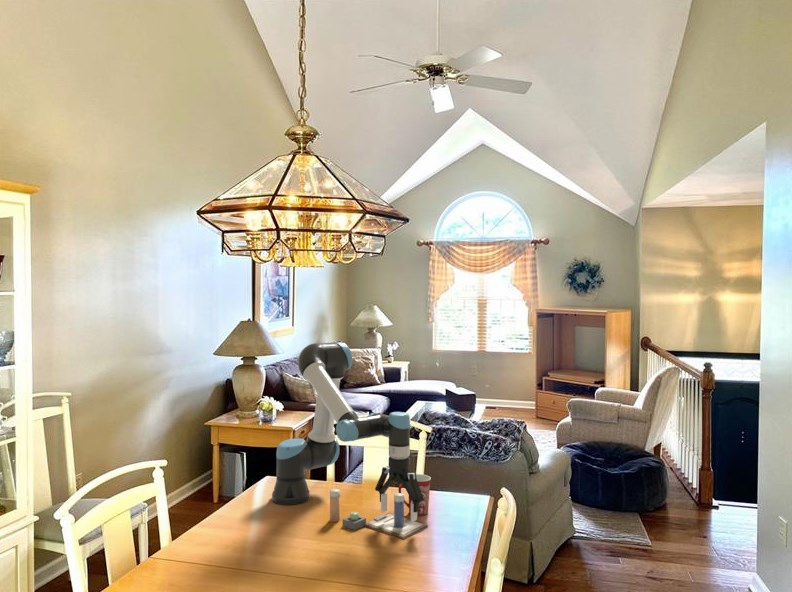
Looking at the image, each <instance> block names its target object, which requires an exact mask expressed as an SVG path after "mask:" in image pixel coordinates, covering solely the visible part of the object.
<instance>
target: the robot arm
mask: <svg viewBox="0 0 792 592" xmlns="http://www.w3.org/2000/svg"><path fill="white" fill-rule="evenodd" d="M353 360H354V359H353V354H352V351H351V349H350V347H349V346H348V345H347V344H346V343H345V342H339V341H338V342H336V341H333V342H319V343H317V342H316V343H310V344H308V345H306V346H305V347H304V348H303V349H302V350H301V352H300V353H299V356H298V360H297V363H298V370H299V373H300V375H301V376H302V378H303V380H305V381H306V382H309V383H310V385H311V386H312V387H313V390H314V391H315V392H316V394H317V395H316V400H315V401H316V402H315V409H314V415H313V423H312V429H311V431H309V432H308V433H307V440H305V439H304V438H289V439H286V440H282V441H281V442H280V443H279V444H278V445H277V447H276V454H275V457H276V480H275V484H274V488H273V491H272V494H271V501H272V503H275V504H278V505H283V506H285V505H286V506H293V505H299V504H303V503H305V502H307V501H308V500H310V493H311V492H310V490H309V487H308V484H307V479H306V471H308V470H313V469H318V468H322V467H323V468H325V467H328V466H331V465H333V464H334V463H335V462H336V461H337V460H338V458H339V456H340V443H339V441H338V439H339V440H340V441H341V442H345V443H347V442H354V441H358V440H363V439H368V438H373V437H378V436H380V437H386V438H388V465H385V466H383V467H382V468H381V475H380V476H379V479H378V481H377V483H376V486H375V488H374V490H375V491H376V492H378V494H379V502H380V513H385V512H387V511H388V492H387V490H388V489H389V488H390V487H391V485H392V484H393V483H396V484H399V485H400V484H402V487H404V489H405V491H406V493H407V494H408V497H409V496H410V498H411V500H412V503H411V514H410V519H411V522H413V521H417V520H418V516H417V512H418V510H419V502H421V501H423V500H424V498H423V496H422V493H421V490H420V487H419V484H418V481H417V477H416V474H417V473H416V472H410V471H409V469H410V465H411V464H410V460H411V459H410V457H409V456H410V455H411V453H410V451H411V449H410V446H411V444H410V441H411V439H410V438H411V436H410V435H411V418H410V414H409V413H408V412H404V411H403V412H402V411H393V412H390V413H389V414H388V415H387V414H384V413H381V412H371V413H369V414H368V415H367V416H361V417H359V416H358V414H356V412H355V411H354V409H353V407H352V406H351V405H350V403H349V401H348V400H347V399H346V397H345V396H344V395H343V393H342V392H341V390H340V382H341V380H342V379H344V378H345V373H346V371H348V370H350V369H351V368H352V365H353ZM335 423H336V426H335V433H336V435H335V434H334V425H335ZM336 436H337V438H338V439H337V438H336ZM388 475H389V477H388ZM387 477H388V478H387ZM408 477H409V478H408ZM409 479H410V480H409Z"/></svg>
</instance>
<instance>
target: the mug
mask: <svg viewBox="0 0 792 592" xmlns="http://www.w3.org/2000/svg"><path fill="white" fill-rule="evenodd" d="M416 477H417V481H418V484H419V487H420V490H421V493H422V496H423V498H424V500H423V501H421V502H419V510H418V512H417V517H418V516H419V517H422V516H426V515H428V514H429V502H430V489H431V488H430V487H431V479H432V477H431V476H429V475H427V474H421V473H416ZM408 478H409V477H408ZM409 480H410V479H409ZM402 487H403V486H402V484H399V486H398V490H397V491H398V493H402ZM411 503H412V500H411V498H410V496H409V495H408V502H407V501H406V500H405V499H404V505H406V507H407V508H408V512H409V514H410V515H411Z"/></svg>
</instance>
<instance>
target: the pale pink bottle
mask: <svg viewBox="0 0 792 592" xmlns="http://www.w3.org/2000/svg"><path fill="white" fill-rule="evenodd" d="M340 497H341V489H339V488H332V489H330V490H329V521H330V522H331V523H339V522H340V505H341V504H340V502H341V501H340V500H341V498H340Z"/></svg>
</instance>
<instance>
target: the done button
mask: <svg viewBox="0 0 792 592" xmlns="http://www.w3.org/2000/svg"><path fill="white" fill-rule="evenodd" d="M349 516H350V520H351V521H354V522H355V521H358V520H359V516H360V513H359V512H358V511H352V512H350V513H349Z"/></svg>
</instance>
